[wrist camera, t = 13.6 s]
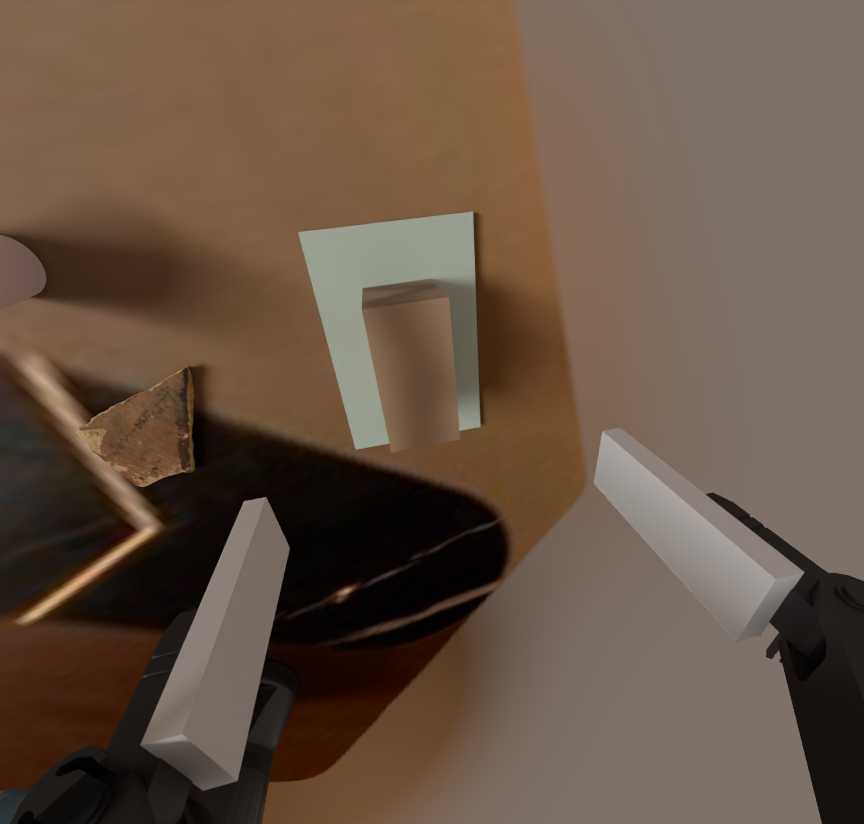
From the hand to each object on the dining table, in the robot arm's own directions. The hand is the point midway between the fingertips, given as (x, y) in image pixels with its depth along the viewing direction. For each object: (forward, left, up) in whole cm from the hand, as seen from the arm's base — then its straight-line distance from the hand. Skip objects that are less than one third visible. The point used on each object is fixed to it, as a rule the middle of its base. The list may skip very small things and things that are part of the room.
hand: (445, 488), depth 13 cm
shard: (-3, +22, -18) cm, 28 cm away
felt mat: (0, 0, -17) cm, 17 cm away
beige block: (0, 0, -17) cm, 17 cm away
